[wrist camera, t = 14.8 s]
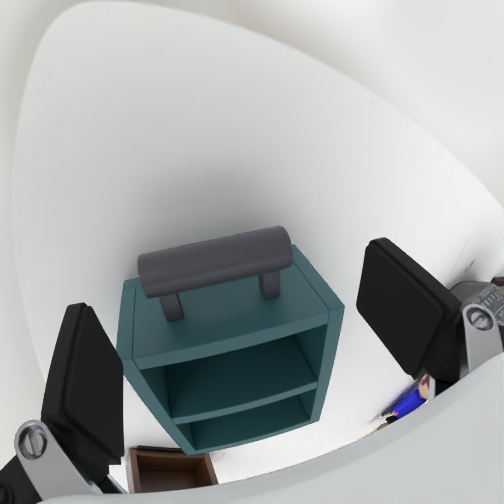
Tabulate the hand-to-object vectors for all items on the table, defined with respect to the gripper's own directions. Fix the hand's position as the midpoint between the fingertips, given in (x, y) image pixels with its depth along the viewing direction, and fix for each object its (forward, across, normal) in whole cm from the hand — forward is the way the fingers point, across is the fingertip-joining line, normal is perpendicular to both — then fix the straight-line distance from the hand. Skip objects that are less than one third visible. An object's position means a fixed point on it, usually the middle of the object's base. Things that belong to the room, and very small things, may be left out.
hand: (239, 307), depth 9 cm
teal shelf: (+7, 0, +7) cm, 10 cm away
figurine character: (+7, -27, +38) cm, 47 cm away
